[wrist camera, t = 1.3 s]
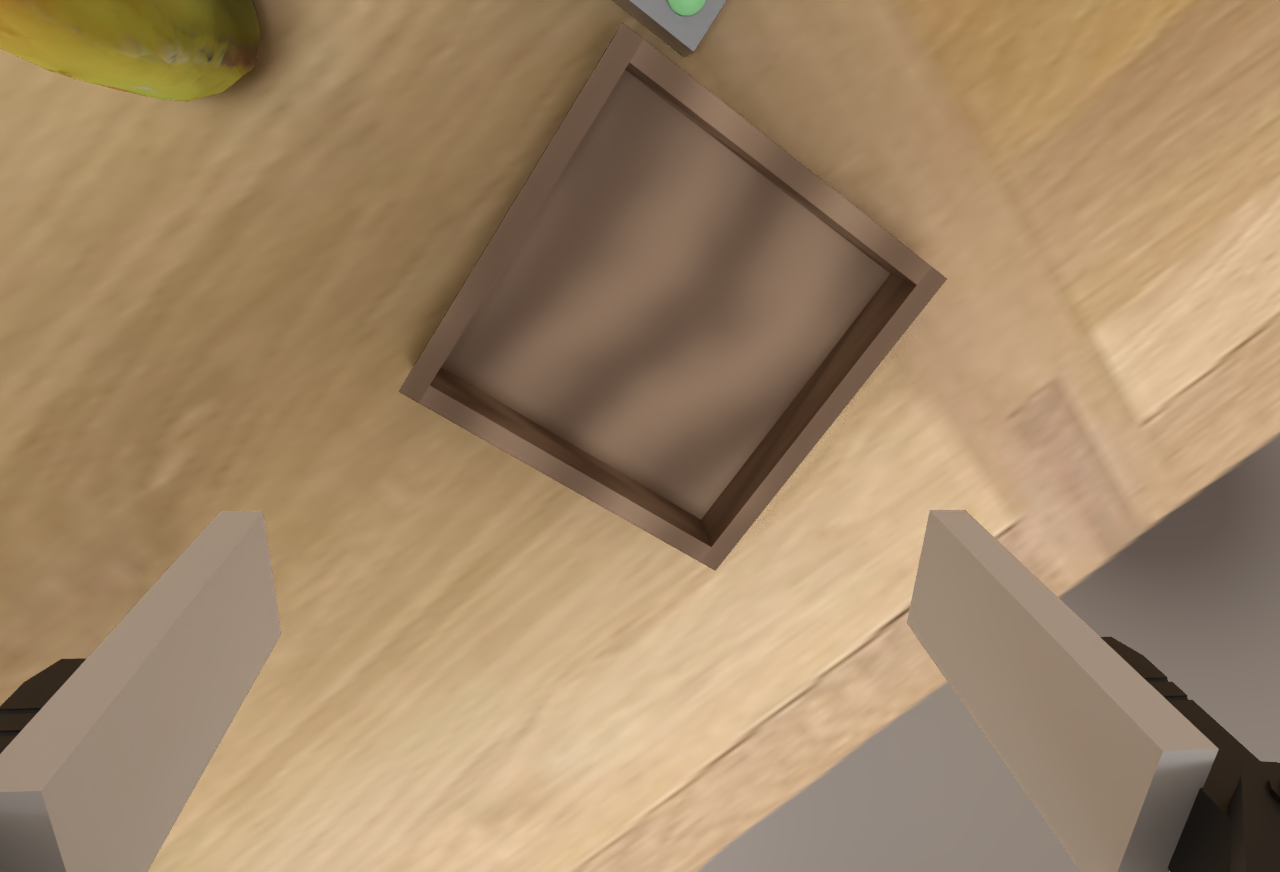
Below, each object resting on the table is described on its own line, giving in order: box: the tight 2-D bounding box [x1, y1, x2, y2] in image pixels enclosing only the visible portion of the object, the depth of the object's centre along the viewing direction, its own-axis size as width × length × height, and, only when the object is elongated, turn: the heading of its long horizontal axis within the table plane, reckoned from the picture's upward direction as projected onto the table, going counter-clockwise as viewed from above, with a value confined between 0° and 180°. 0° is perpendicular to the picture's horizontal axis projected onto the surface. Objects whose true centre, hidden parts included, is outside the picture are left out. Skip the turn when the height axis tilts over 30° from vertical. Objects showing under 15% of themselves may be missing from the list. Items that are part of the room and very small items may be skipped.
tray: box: [399, 23, 947, 571], centre depth 37 cm, size 18×18×4 cm
